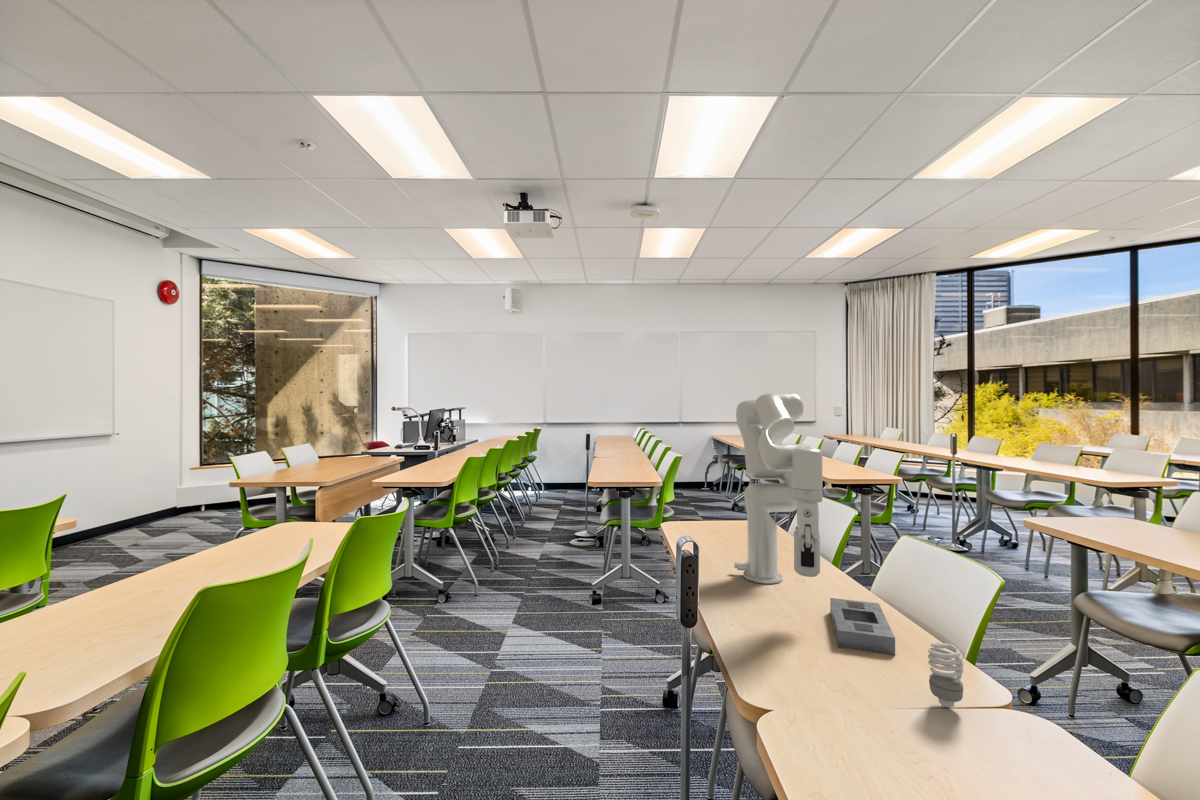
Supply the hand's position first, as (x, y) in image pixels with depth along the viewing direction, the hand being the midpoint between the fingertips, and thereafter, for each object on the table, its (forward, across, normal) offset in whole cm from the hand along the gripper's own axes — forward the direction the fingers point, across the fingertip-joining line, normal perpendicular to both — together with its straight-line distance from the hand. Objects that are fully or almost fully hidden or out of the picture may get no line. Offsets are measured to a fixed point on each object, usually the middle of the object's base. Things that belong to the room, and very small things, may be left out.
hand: (807, 562), depth 134 cm
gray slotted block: (+16, -1, -12) cm, 20 cm away
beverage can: (+3, 0, 0) cm, 3 cm away
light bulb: (+15, -32, -23) cm, 43 cm away
